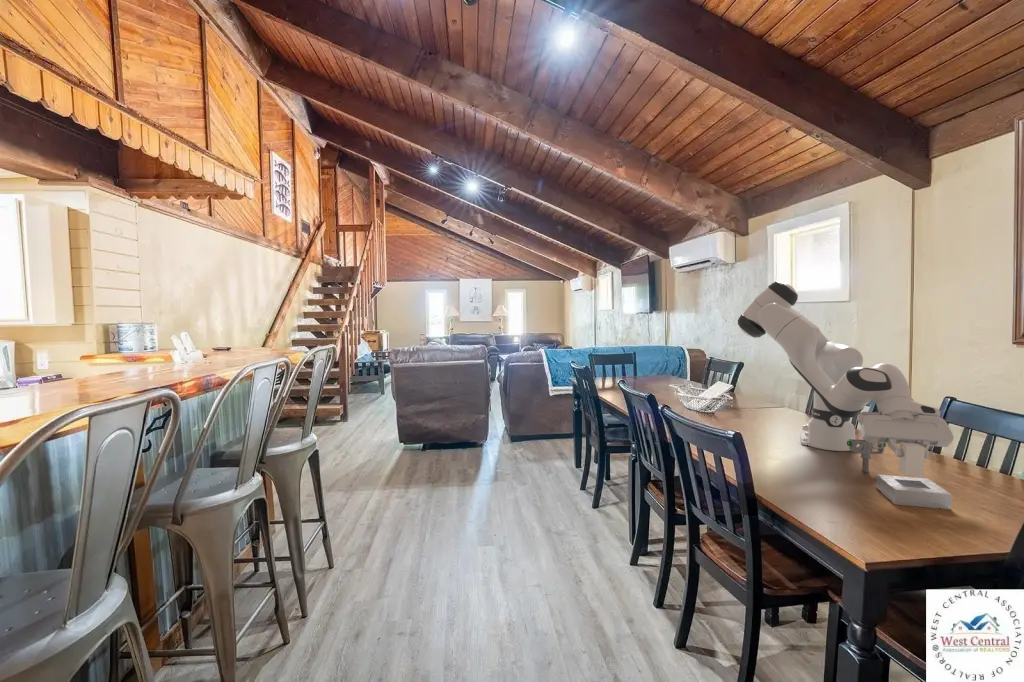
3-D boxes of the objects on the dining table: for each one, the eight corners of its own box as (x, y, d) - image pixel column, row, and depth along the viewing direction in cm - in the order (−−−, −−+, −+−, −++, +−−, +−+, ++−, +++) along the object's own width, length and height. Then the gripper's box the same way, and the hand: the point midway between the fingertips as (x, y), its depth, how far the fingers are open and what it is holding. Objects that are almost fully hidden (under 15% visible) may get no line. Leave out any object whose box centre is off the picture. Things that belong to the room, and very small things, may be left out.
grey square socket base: (876, 488, 138) (876, 474, 137) (927, 492, 134) (928, 478, 134) (894, 504, 126) (895, 489, 126) (950, 509, 122) (951, 494, 122)
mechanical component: (886, 474, 149) (887, 442, 148) (849, 472, 151) (850, 441, 150) (880, 471, 152) (881, 440, 151) (844, 469, 154) (845, 438, 153)
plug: (898, 470, 132) (899, 442, 132) (916, 472, 131) (917, 443, 130) (905, 475, 128) (906, 446, 128) (923, 476, 127) (924, 447, 127)
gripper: (858, 405, 139) (870, 447, 130) (946, 409, 132) (964, 454, 123) (852, 417, 143) (863, 458, 134) (937, 421, 136) (954, 465, 128)
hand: (912, 456), depth 129 cm, fingers closed on plug, 4 cm apart
